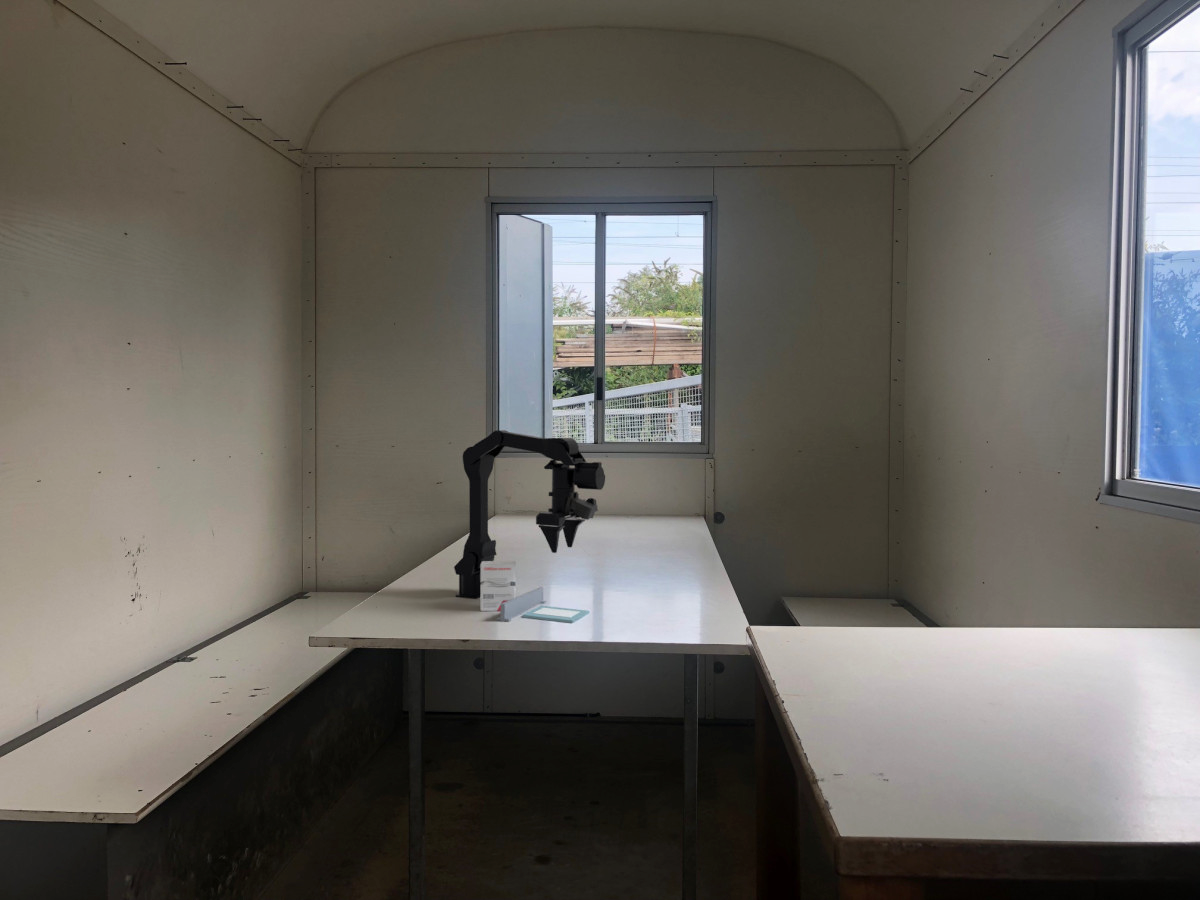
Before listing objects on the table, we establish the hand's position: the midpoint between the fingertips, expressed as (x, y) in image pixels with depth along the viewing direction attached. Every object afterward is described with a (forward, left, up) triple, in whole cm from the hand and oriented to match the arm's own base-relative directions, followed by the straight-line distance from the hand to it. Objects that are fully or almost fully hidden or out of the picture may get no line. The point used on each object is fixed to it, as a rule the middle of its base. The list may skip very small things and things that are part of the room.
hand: (562, 549), depth 188 cm
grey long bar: (-7, -8, -14) cm, 18 cm away
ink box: (-14, -8, -15) cm, 22 cm away
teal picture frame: (+2, -8, -14) cm, 17 cm away
